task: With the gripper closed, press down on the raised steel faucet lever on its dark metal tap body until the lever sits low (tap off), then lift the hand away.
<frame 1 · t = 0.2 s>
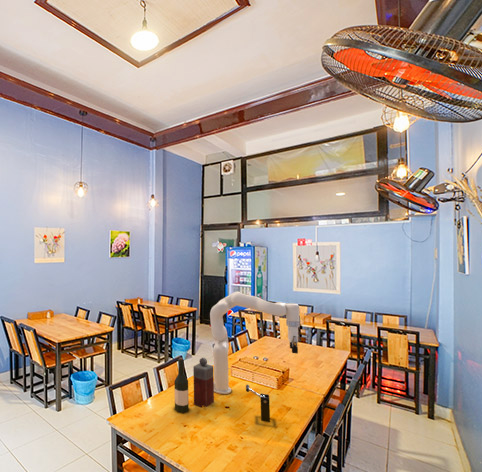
hand: (293, 350, 196), 31 cm above the table, tool pointing down, fingers open, 9 cm apart
faucet lever: (256, 393, 174), point 14 cm above the table, hinge at 28.0°
wine bottle: (181, 409, 185), on the table
square decanter: (204, 404, 192), on the table
tap body: (265, 421, 172), on the table
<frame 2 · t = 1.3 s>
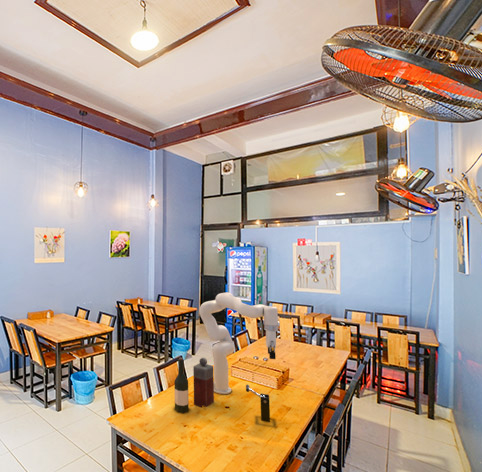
hand: (271, 356, 186), 31 cm above the table, tool pointing down, fingers open, 9 cm apart
nothing on the table moved.
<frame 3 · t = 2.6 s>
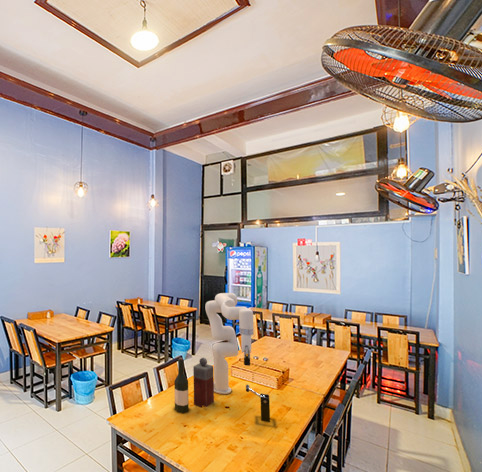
hand: (247, 362, 176), 31 cm above the table, tool pointing down, fingers open, 7 cm apart
nothing on the table moved.
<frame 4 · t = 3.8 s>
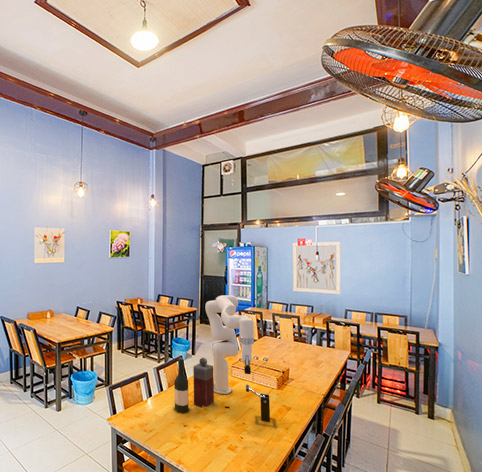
hand: (247, 373, 176), 25 cm above the table, tool pointing down, fingers closed
nothing on the table moved.
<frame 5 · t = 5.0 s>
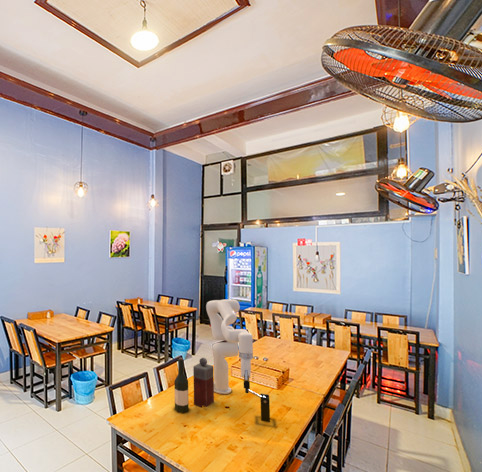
hand: (246, 388, 176), 17 cm above the table, tool pointing down, fingers closed
faucet lever: (256, 394, 174), point 14 cm above the table, hinge at 22.5°
everything else where it was.
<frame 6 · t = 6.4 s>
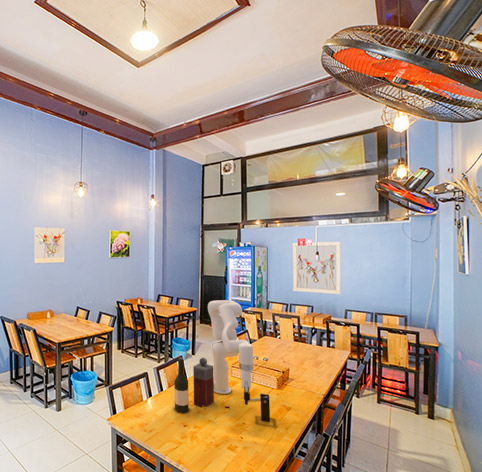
hand: (247, 399, 175), 11 cm above the table, tool pointing down, fingers closed
faucet lever: (255, 400, 174), point 11 cm above the table, hinge at -14.1°, touching gripper
everything else where it was.
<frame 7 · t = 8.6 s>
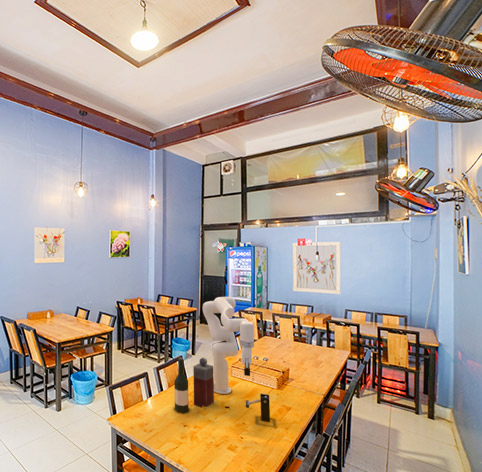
hand: (247, 375, 181), 22 cm above the table, tool pointing down, fingers closed
faucet lever: (256, 401, 174), point 10 cm above the table, hinge at -23.9°
everything else where it was.
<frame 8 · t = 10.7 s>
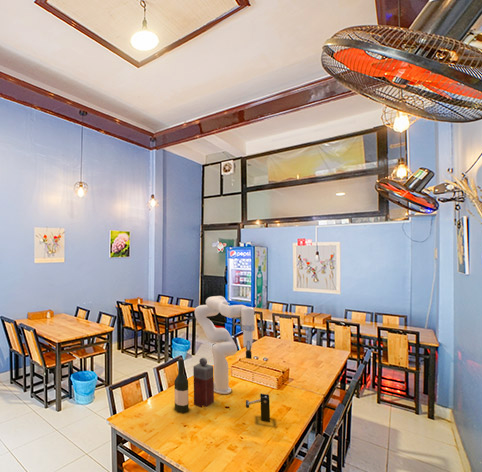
hand: (248, 358, 189), 29 cm above the table, tool pointing down, fingers closed
nothing on the table moved.
at the end: faucet lever at -24° (first picture: +28°) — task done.
